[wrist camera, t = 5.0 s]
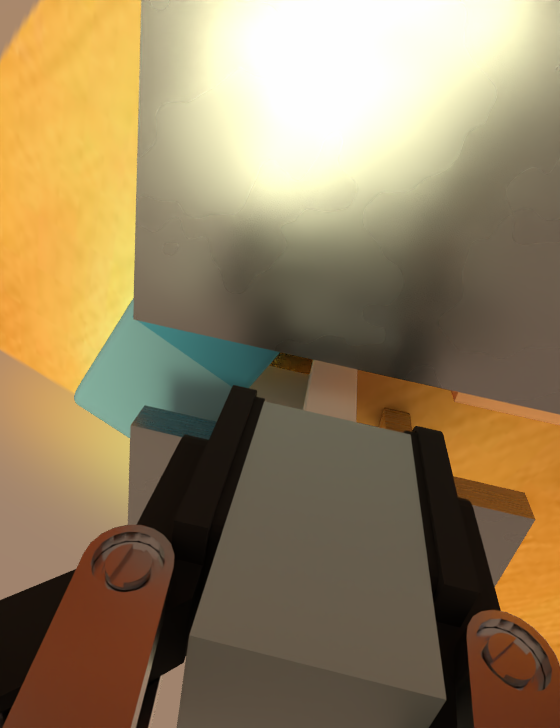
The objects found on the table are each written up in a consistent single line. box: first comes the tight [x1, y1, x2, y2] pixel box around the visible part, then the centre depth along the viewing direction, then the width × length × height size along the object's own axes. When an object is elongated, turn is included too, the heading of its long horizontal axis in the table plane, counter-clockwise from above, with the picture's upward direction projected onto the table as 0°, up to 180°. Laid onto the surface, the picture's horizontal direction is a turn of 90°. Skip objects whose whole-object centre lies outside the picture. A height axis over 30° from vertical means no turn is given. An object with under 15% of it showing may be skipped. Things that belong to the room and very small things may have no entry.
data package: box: [74, 298, 280, 438], centre depth 20 cm, size 12×4×12 cm, turn 143°
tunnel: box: [128, 0, 560, 587], centre depth 19 cm, size 11×20×15 cm, turn 170°
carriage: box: [177, 360, 446, 728], centre depth 16 cm, size 10×16×22 cm, turn 170°
